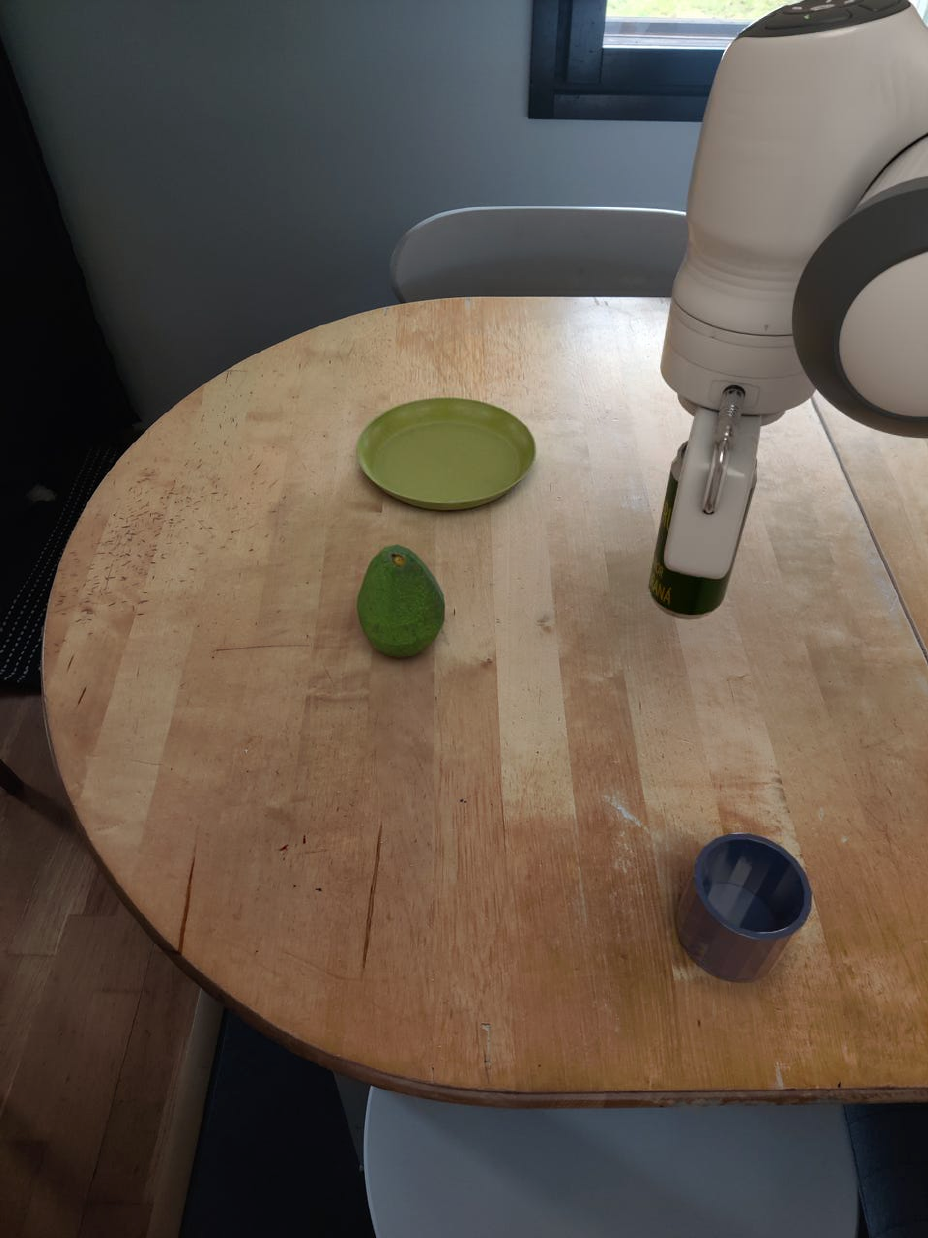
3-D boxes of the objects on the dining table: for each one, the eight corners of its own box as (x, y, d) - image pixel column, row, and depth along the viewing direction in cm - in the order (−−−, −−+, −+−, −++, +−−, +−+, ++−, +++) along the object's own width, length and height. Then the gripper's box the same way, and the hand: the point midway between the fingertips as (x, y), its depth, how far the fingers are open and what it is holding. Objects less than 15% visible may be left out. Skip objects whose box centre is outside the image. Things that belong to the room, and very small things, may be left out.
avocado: (353, 672, 79) (340, 576, 70) (371, 611, 84) (361, 516, 76) (439, 681, 78) (436, 586, 69) (452, 620, 83) (450, 524, 75)
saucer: (330, 504, 96) (327, 480, 94) (395, 408, 110) (393, 385, 107) (508, 539, 92) (510, 516, 89) (552, 435, 105) (554, 412, 103)
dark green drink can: (703, 565, 64) (737, 428, 56) (735, 615, 61) (777, 476, 52) (635, 578, 63) (659, 440, 55) (664, 629, 60) (694, 490, 51)
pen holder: (785, 897, 64) (813, 850, 58) (780, 997, 58) (810, 955, 53) (682, 868, 65) (701, 820, 60) (668, 964, 60) (687, 919, 55)
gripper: (791, 460, 40) (731, 656, 50) (809, 279, 54) (759, 461, 64) (657, 438, 42) (624, 633, 52) (708, 267, 55) (674, 447, 65)
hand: (699, 536), depth 58 cm, fingers closed on dark green drink can, 5 cm apart
